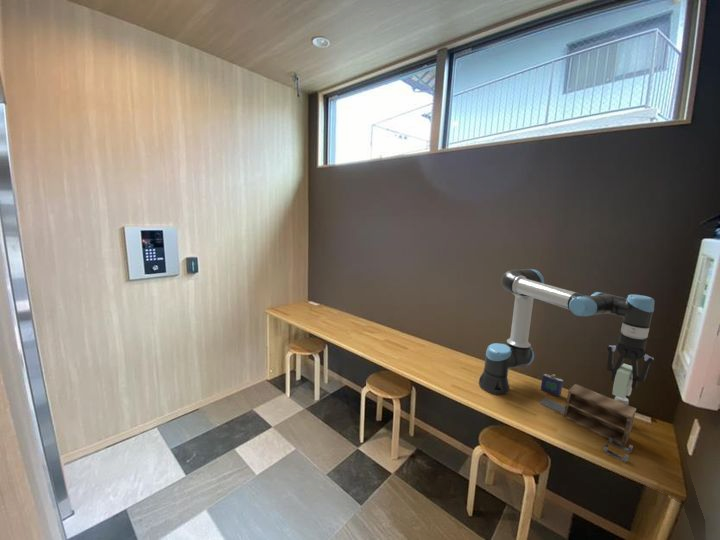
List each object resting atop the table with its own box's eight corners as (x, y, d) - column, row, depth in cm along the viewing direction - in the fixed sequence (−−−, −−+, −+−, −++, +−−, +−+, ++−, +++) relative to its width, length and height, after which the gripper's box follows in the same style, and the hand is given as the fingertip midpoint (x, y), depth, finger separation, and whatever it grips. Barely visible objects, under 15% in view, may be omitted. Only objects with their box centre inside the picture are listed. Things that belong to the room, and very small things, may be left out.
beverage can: (616, 417, 140) (622, 394, 137) (626, 424, 135) (632, 401, 133) (607, 417, 140) (612, 394, 137) (616, 424, 135) (621, 401, 132)
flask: (560, 395, 156) (564, 376, 154) (560, 397, 154) (563, 379, 152) (540, 388, 162) (543, 370, 159) (539, 390, 159) (543, 372, 157)
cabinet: (563, 416, 139) (568, 390, 136) (569, 409, 144) (575, 383, 141) (624, 446, 122) (631, 416, 119) (629, 437, 127) (636, 408, 124)
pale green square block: (612, 394, 114) (617, 370, 113) (619, 386, 120) (623, 363, 119) (627, 400, 111) (632, 375, 109) (633, 391, 117) (638, 368, 115)
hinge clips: (603, 451, 119) (604, 446, 118) (610, 440, 125) (611, 435, 124) (626, 463, 113) (627, 457, 113) (631, 451, 119) (633, 446, 119)
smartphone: (544, 397, 153) (579, 411, 142) (544, 398, 153) (579, 413, 142) (539, 402, 148) (575, 418, 137) (539, 404, 148) (574, 420, 137)
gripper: (603, 330, 116) (592, 384, 120) (662, 345, 103) (648, 406, 107) (608, 326, 120) (598, 379, 125) (666, 341, 107) (652, 399, 112)
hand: (621, 391), depth 116 cm, fingers closed on pale green square block, 3 cm apart
